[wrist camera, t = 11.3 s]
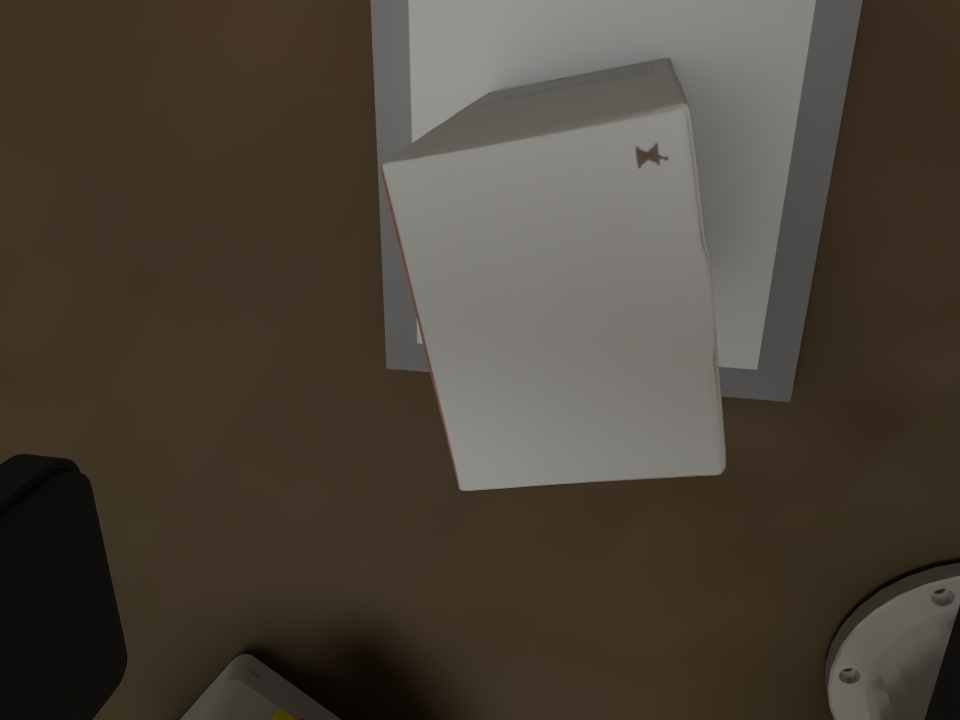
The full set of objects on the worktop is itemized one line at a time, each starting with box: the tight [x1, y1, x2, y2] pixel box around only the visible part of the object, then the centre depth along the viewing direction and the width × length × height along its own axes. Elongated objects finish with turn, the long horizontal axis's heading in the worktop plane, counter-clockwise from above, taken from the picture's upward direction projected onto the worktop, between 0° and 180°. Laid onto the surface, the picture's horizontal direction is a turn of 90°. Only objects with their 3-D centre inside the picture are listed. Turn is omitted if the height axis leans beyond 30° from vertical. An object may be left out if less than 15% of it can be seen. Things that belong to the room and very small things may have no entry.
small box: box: [381, 58, 726, 491], centre depth 23 cm, size 8×6×13 cm
